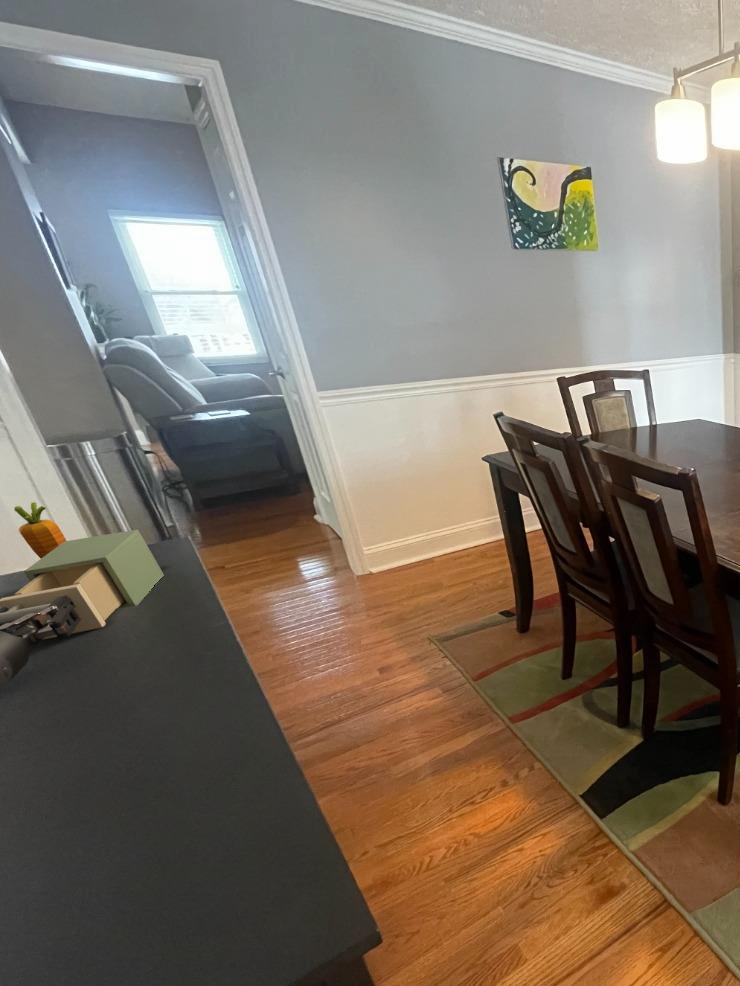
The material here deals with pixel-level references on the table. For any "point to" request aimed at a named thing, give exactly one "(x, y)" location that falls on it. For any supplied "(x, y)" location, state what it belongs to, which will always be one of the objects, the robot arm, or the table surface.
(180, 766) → the table surface
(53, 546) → the carrot
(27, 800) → the table surface
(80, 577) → the drawer
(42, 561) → the cabinet
